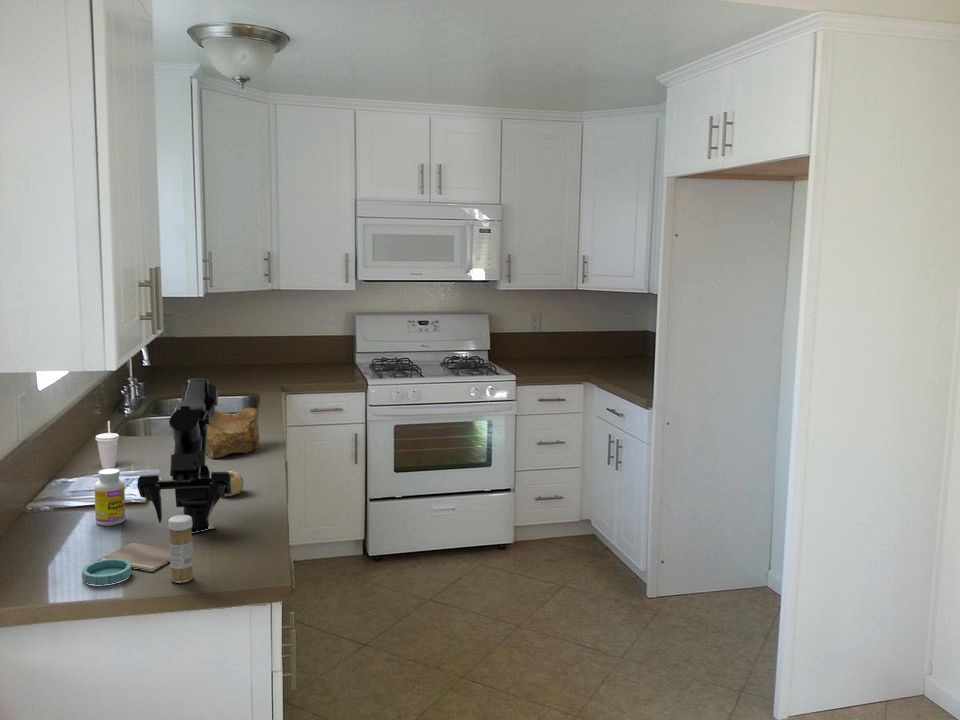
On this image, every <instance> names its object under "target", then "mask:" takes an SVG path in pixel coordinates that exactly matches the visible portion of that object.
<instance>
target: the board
mask: <svg viewBox="0 0 960 720" xmlns="http://www.w3.org/2000/svg"><path fill="white" fill-rule="evenodd" d="M116 558H117V559H124V560H128V561H129V562H130V563H132V568H138V569H145V570H154V569H155V568H158V567H159V566H161V565H162V564H164V563H166V562H168V561H169V560H170V547H162V546H156V545H150V544H144V543H138V542H130V543H129V544H126V545H124V546H122V547H120V548H118V549H117V550H115V551H113V552H111V553H109V554H106V555H105V556H103V557H101V558H98V559H97V560H96V561H100V560H104V559H116Z"/></svg>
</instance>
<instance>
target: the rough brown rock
mask: <svg viewBox="0 0 960 720" xmlns="http://www.w3.org/2000/svg"><path fill="white" fill-rule="evenodd" d="M259 443H260V433H259V411H258V409H256V408H254V407H245V408H243V409H242V410H240V411H238V412H235V413H229V412H226V413H224V412H220V411H217V410H216V409H215V414H214V415H213V416H212V417H211V420H210V423H209V424H208V427H207V443H206V456H207V457H208V458H209V459H211V460H213V459H214V458H215V459H219V458H223V457H225V456H227V455H230V454H234V453H235V454H236V453H239V454H240V453H241V454H249V453H248V452H250V453H252V452H253V451H254V450H255V449H256V448H257V447H258V445H259ZM251 451H252V452H251ZM215 459H214V460H215Z"/></svg>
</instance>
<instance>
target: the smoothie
mask: <svg viewBox="0 0 960 720" xmlns="http://www.w3.org/2000/svg"><path fill="white" fill-rule="evenodd" d="M119 439H120V435H119V434H118V433H116V432H111V421H110V420H108V421H107V432H105V433H100V434H97V435H96V436H95V441H96V442H97V449H98V454H99V459H100V464H101V465H100V466H101V468H102V469H103V470H104V469H115V468H116V463H117V462H116V461H117V453H118V442H119Z"/></svg>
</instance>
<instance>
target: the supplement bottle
mask: <svg viewBox="0 0 960 720" xmlns="http://www.w3.org/2000/svg"><path fill="white" fill-rule="evenodd" d="M120 476H121V471H120V469H118V468H110V469H104V468H103V469H101V470H99V471H98V478H99V480H97V482H95V484H94V507H95V508H94V509H95V510H94V512H95V515H94V516H95V523H96V524H97V525H99V526H105V527H106V526H107V527H108V526H109V527H111V526H116V525H119V524H121V523H124V522H125V519H126V503H125V502H126V499H125V498H126V495H125V494H126V493H125V492H126V491H125V482H124V481H123V480H122V479H120Z"/></svg>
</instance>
